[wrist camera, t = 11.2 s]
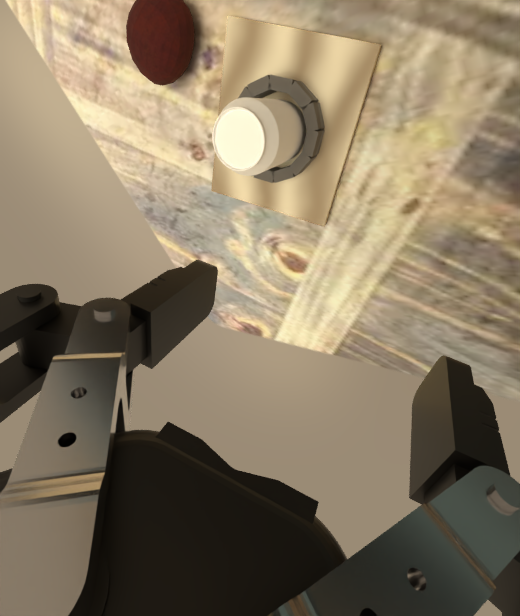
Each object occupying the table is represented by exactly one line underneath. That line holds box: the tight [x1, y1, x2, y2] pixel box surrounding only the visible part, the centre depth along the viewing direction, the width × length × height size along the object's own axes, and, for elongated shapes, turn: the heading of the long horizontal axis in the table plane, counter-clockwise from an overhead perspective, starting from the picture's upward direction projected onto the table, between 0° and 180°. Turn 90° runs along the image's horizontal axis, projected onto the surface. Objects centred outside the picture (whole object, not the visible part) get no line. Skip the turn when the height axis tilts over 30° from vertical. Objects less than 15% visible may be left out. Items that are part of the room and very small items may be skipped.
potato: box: [126, 0, 194, 85], centre depth 35 cm, size 7×8×6 cm
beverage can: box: [212, 97, 306, 176], centre depth 32 cm, size 6×6×12 cm
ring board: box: [211, 15, 382, 226], centre depth 36 cm, size 16×18×4 cm
